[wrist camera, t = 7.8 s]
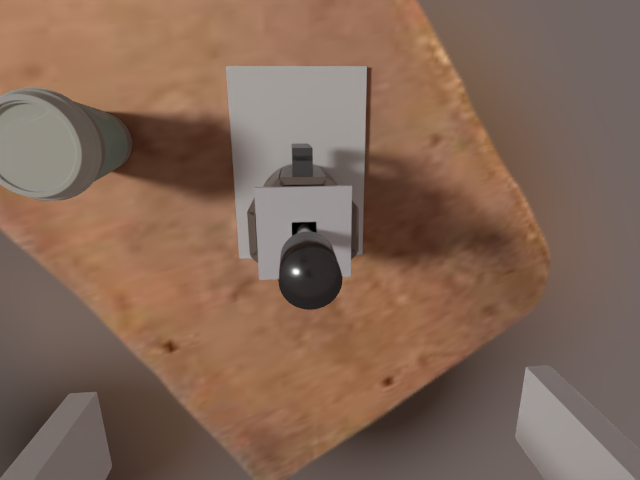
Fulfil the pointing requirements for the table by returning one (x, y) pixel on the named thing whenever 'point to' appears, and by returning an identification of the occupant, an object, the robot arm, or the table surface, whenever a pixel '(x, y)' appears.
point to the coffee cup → (56, 144)
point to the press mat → (295, 128)
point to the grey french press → (301, 213)
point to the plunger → (309, 269)
